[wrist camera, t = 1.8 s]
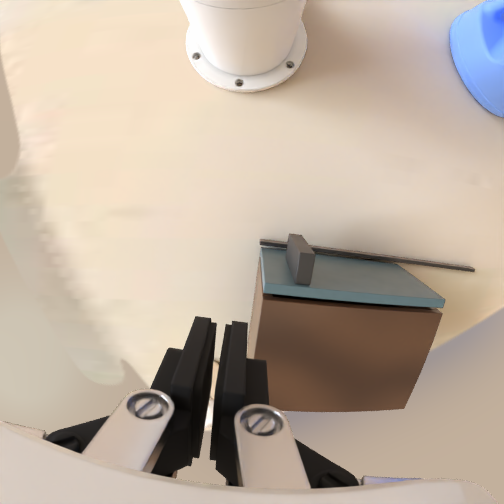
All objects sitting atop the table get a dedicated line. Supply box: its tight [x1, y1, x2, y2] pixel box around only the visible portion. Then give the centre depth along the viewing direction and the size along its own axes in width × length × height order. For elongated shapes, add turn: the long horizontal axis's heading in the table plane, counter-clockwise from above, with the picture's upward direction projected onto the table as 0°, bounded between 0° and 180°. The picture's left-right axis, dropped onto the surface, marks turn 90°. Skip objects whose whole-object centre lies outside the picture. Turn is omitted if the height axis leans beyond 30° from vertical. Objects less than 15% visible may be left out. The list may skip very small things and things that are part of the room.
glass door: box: [260, 234, 445, 308], centre depth 28 cm, size 3×16×11 cm, turn 83°
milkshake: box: [205, 361, 219, 427], centre depth 33 cm, size 4×5×10 cm
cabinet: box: [247, 239, 475, 412], centre depth 30 cm, size 12×28×12 cm, turn 83°
